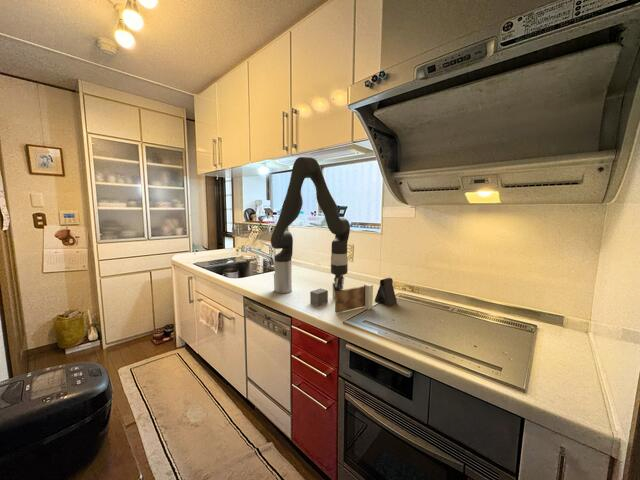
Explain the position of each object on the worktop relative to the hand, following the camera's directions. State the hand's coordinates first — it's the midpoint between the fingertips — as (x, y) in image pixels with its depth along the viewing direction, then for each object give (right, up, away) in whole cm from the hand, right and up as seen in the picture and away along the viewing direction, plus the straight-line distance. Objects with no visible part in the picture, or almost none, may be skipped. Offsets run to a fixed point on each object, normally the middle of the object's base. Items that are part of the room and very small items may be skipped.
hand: (338, 299), depth 118 cm
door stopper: (+23, -3, +8) cm, 25 cm away
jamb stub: (-1, -2, +15) cm, 15 cm away
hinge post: (+14, -4, +1) cm, 14 cm away
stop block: (-9, -3, +8) cm, 12 cm away
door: (+6, -4, -2) cm, 7 cm away
